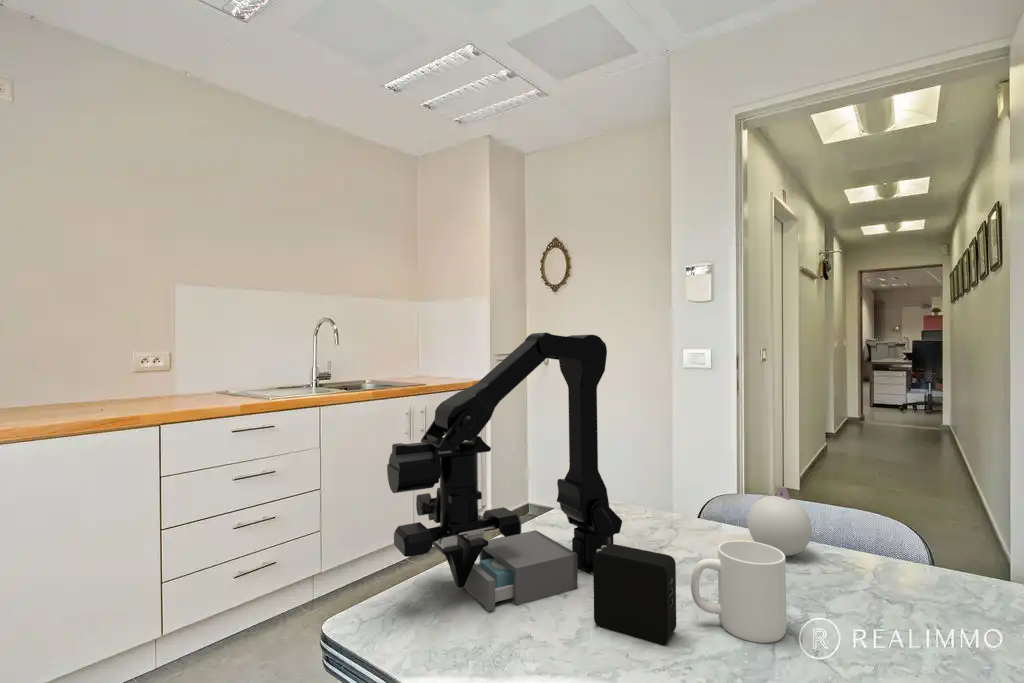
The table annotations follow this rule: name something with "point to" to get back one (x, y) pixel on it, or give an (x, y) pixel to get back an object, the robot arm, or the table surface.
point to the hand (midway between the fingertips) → (460, 587)
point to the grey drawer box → (534, 565)
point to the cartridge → (498, 572)
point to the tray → (486, 588)
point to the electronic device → (635, 592)
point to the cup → (747, 590)
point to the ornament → (780, 523)
